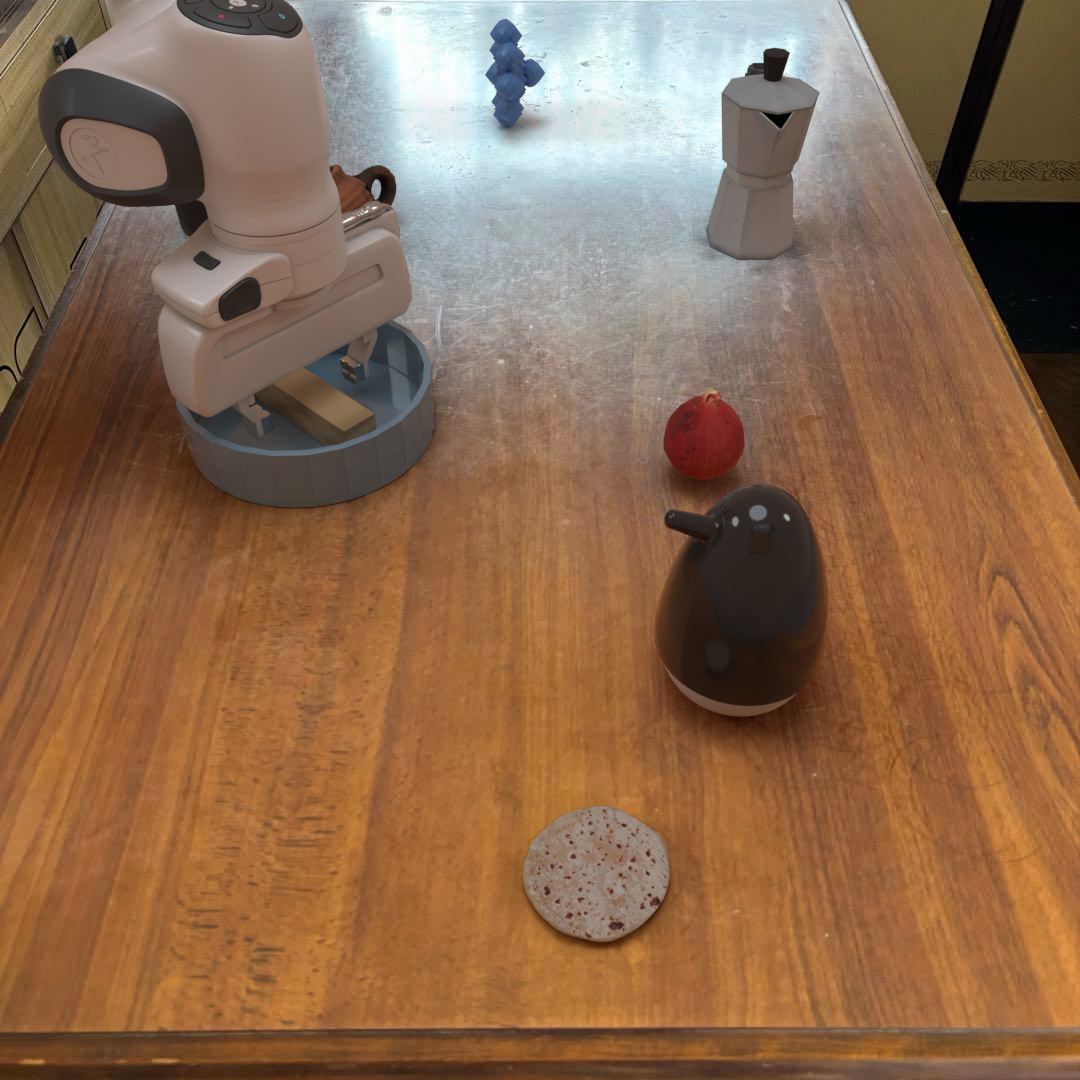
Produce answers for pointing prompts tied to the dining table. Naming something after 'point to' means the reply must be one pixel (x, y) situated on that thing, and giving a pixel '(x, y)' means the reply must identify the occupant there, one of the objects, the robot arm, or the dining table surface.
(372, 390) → the bowl
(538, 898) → the flatbread
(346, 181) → the brown wooden curved piece
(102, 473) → the dining table surface
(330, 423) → the gold bar
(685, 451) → the onion
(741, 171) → the coffee maker
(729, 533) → the pump dispenser
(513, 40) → the grapes
